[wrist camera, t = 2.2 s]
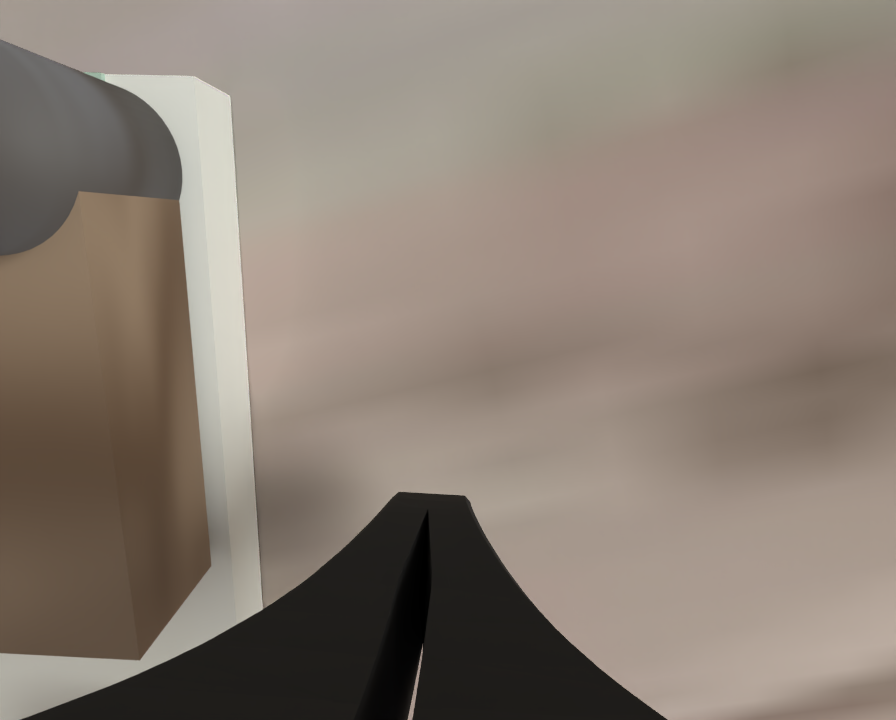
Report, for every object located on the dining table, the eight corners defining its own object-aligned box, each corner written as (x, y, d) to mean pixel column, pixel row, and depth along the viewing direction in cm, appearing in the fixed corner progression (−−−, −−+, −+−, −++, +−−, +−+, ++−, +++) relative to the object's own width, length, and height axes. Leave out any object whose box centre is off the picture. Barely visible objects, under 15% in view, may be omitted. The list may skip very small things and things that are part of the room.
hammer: (15, 80, 9) (-189, 15, 6) (174, 84, 9) (41, 19, 6) (87, 559, 12) (-40, 671, 9) (216, 565, 12) (131, 680, 9)
